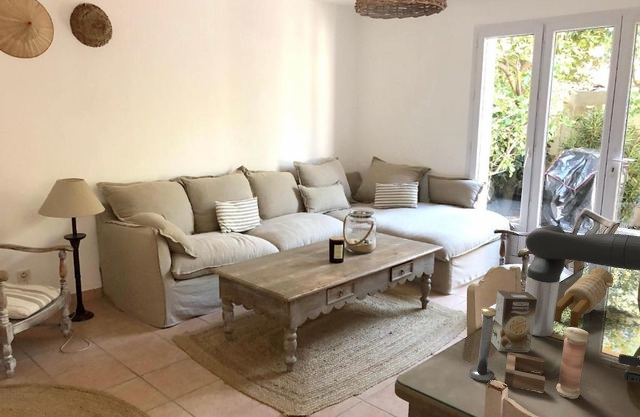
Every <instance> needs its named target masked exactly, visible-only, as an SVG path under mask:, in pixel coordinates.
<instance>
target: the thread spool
mask: <svg viewBox="0 0 640 417" xmlns="http://www.w3.org/2000/svg"><path fill="white" fill-rule="evenodd" d="M563 335H564V337H565V338H564V340H563V347H562V355H561V363H560V369H559V376H558V383H557V384H556V387H555V390H556V389H557V391H558V392H560V393H562V394H564V395H567V396H575V397H576V396H579V395H581V389H580V387H581V386H580V385H581V380H582V373H583V366H584V359H585V352H586V346H587V343H586V342H587V341H588V340H589V337H590V334H589V332H588V331H586V330H584V329H582V328H579V327H575V326H572V327H571V326H570V327H565V328H564V330H563Z"/></svg>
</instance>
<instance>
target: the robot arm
mask: <svg viewBox="0 0 640 417" xmlns="http://www.w3.org/2000/svg"><path fill="white" fill-rule="evenodd" d="M525 239H526V240H525V247H526V248H527V250H528V252H529V253H530V254H532V255H533V256H534V257H533V260H532V261H531V263H530V264H529V266H528V268H527V272H526V280H525V290H524V292H528V293H529V294H531V295H533V296H534V297H535V298H536V299H537V303H536V310H535V317H534V325H533V332H532V336H537V337H550V336H552V335H553V332H554V326H555V320H554V319H555V312H556V304H557V302H558V298H559V297H558V296H559V288H560V282H561V277H562V276H561V275H562V274H563V272H564V268H565V264H566V260H568V261H569V260H570V261H576V262H577V261H578V262H582V263H587V264H592V265H598V266H604V267H611V268H613V269H615V268H616V269H621V270H629V271H640V235H632V234H624V233H623V234H622V233H589V234H571V233H567V232H566V231H565V230H564V229H563V228H561V227H560V226H558V225H553V224H550V225H545V226H542V227H538V228H535V229H534V230H532V231H531V232H530V233H529V234H528V235H527V236H526V238H525ZM617 361H618V363H619V364H621V365H624V366H629V367H637V368H639V369H640V353H638V355H637V356H635V355H634V356H633V355H630V354H629V355H628V354H623V353H620V354H619V355H618V360H617ZM623 379H624V381H627V382H631V383H636V384H640V372H638V371H633V370H629V369H625V370H624V373H623Z"/></svg>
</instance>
